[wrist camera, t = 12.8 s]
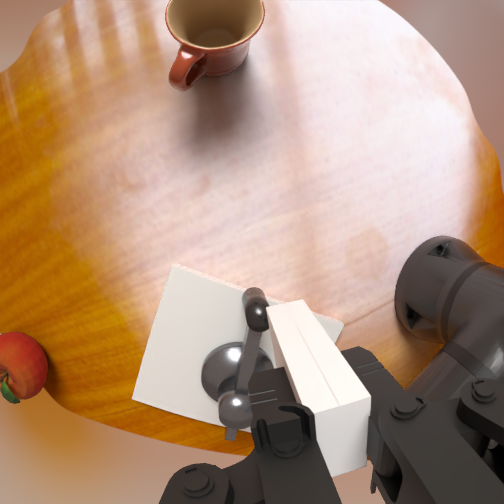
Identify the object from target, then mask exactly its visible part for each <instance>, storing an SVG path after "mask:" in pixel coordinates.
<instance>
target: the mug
mask: <svg viewBox="0 0 504 504" xmlns="http://www.w3.org/2000/svg"><path fill="white" fill-rule="evenodd" d="M264 16H265V9H264V4H263V2H262V0H170V1H169V3H168V5H167V8H166V13H165V20H166V25H167V27H168V30H169V31H170V33H171V35H172V36H173V37H174V38H175V39H176V40H177V41H178V42H179V43H180V49H179V51H178V55H177V58H176V60H175V62H174V63H173V65H172V68H171V70H170V73H169V83H170V85H171V86H172V87H173V88H175V89H177V90H180V91H187V90H188V89H190V88H191V87H192V86H193V85H194V84H195V82H196V81H198V80H199V79H200V78H201V77H202V76H203V75H204V76H209V77H217V76H223V75H226V74H229V73H231V72H232V71H234V70H235V69H237V68H238V67H239V66H240V65H241V64H242V62H243V61H244V59H245V58H246V56H247V54H248V51H249V45H250V40H251V38H252V37H253V36H254V35H255V34H256V33H257V32H258V31H259V29H260V27H261V26H262V24H263V21H264Z"/></svg>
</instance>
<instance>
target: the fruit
mask: <svg viewBox="0 0 504 504" xmlns="http://www.w3.org/2000/svg"><path fill="white" fill-rule="evenodd" d="M47 374H48V362H47V358H46V355H45V353H44V351H43V349H42V348H41V346H40V345H39V343H37V342H36V341H35V340H34V339H33V338H31V337H30V336H28V335H26V334H24V333H20V332H9V333H4V334H2V335H0V389H1V390H0V391H1V393H2V395H3V397H4V398H5V399H6V400H7V401H9V402H10V403H14V404H16V403H20V400H19V399H29V398H31V397H33V396H35V395H37V394H38V393H39V392H40V391H41V389H42V388H43V386H44V384H45V382H46V380H47Z"/></svg>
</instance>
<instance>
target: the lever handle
mask: <svg viewBox="0 0 504 504" xmlns="http://www.w3.org/2000/svg"><path fill="white" fill-rule="evenodd" d="M242 302H243V307H244V312H245V316H246V321H247V325H246V330H245V335H244V340H243V342H230V343H226V344H223V345H221V346H219V347H217V348H215V349H214V350H212V351H211V352H210V353H209V354H208V355H207V357H206V358H205V360H204V362H203V364H202V370H201V383H202V386H203V388H204V390H205V392H206V393H207V394H208V396H210V397H211V398H212V399H213V400H215V401H216V402H218V410H219V420H220V422H221V423H222V424H223V425H224V426H226V430H225V440H233V441H235V438H236V434H237V430H238V429H245V428H248V427H250V426H251V420H252V419H253V414H252V408H251V401H250V395H249V388H248V382H249V380H250V378H251V376H252V374H253V373H255V372H260V371H265V370H270V369H274V366H273V363H272V360H271V358H270V357H269V355H268V354H267V353H266V352H265V351H264V350H263V349H262V348H260V347H259V344H260V340H261V336H262V332H264V331H266V330H268V329H269V323H268V317H267V312H266V307H269V304H268V302H267V299H266V297H265V294H264V292H263V291H262V290H261V289H259V288H255V287H252V288H249V289H247V290H246V291H245V292H244V293H243V295H242Z"/></svg>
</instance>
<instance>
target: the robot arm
mask: <svg viewBox="0 0 504 504" xmlns="http://www.w3.org/2000/svg"><path fill="white" fill-rule="evenodd" d="M395 307H396V312H397V315H398V318H399V320H400V322H401V324H402V325H403V326H404V327H405V328H406V329H407V330H408V331H409V332H410V333H412V334H413V335H414V336H416V337H418V338H420V339H422V340H426V341H431V342H436V343H441V344H445V345H444V347H443V348H442V349H441V350H440V351H439V352H438V353H437V354H436V356H435V357H434V358H433V359H432V360H431V361H430V362H429V364H428V365H427V366H426V367H425V368H424V369H423V370H422V371H421V372H420V373H419V374H418V375H417V377H416V378H415V379H414V380H413V381H412V382H411V383H410V384H409V385H408V386H407V387H406V388H405V389H403V388H402V387H401V386H400V384H399V383H398V382H397V381H396V380H395V379H394V378H393V376H392V375H391V374H390V373H389V372H388V371H387V370H386V369H384V366H383V365H382V364H381V363H380V362H378V359H377V358H376V357H375V356H374V355H373V354H372V352H370V351H368V350H366V349H364V348H362V347H359V346H358V347H354V348H351V349H347V350H344V351H339V350H338V348H337V347H336V346H335V344H334V343H333V341H332V340H331V339H330V337H329V336H328V334H327V333H326V332H325V330H324V329H323V327H322V326H321V325H320V323H319V322H318V320H317V319H316V318H315V316H314V315H313V313H312V312H311V311H310V309H309V308H308V306H307V305H306V304H305V302H304V301H303V299H302V300H298V301H293V302H288V303H284V304H279V305H274V306H269V307H266V312H267V317H268V323H269V329H270V334H271V340H272V346H273V352H274V357H275V363H276V367H277V368H275V369H270V370H265V371H260V372H255V373H253V374H252V376H251V378H250V380H249V382H248V388H249V395H250V401H251V408H252V414H253V419H252V420H251V427H250V429H251V433H252V437H253V440H254V444H255V447H254V450H253V451H252V452H251V453H250V455H249V456H247V457H246V458H245V459H244V460H242V461H240V462H238V463H236V464H234V465H232V466H230V467H227V468H224V469H220V468H219V467H217V466H216V465H211V464H206V463H200V464H192V465H189V466H186V467H183V468H182V469H180V470H179V471H177V472H176V473H174V475H173V476H172V477H171V479H170V480H169V482H168V484H167V486H166V488H165V491H164V493H163V495H162V497H161V500H160V502H159V504H342V503H341V500H340V498H339V495H338V493H337V490H336V487H335V485H334V483H333V480H332V477H334V476H337V475H341V474H344V473H347V472H350V471H353V470H356V469H359V468H362V467H365V466H366V464H367V455H368V457H369V459H370V461H371V462H372V464H373V473H372V480H371V487H370V488H371V493H372V494H373V493H375V491H376V486H377V487H378V489H379V491H380V493H381V495H382V497H383V499H384V501H385V503H386V504H504V268H501V267H499V266H496V265H493V264H490V263H487V262H486V261H485V260H484V259H483V258H482V257H480V256H479V255H478V254H477V253H476V252H475V251H474V250H473V249H472V248H471V247H470V246H469V245H468V244H466V243H465V242H463V241H461V240H459V239H456V238H452V237H449V236H437V237H434V238H431V239H429V240H427V241H425V242H424V243H422V244H421V245H420V246H419V247H418V248H417V249H416V250H415V251H414V252H413V253H412V254H411V255H410V257H409V258H408V260H407V261H406V263H405V265H404V267H403V269H402V271H401V273H400V276H399V279H398V282H397V286H396V293H395Z"/></svg>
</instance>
